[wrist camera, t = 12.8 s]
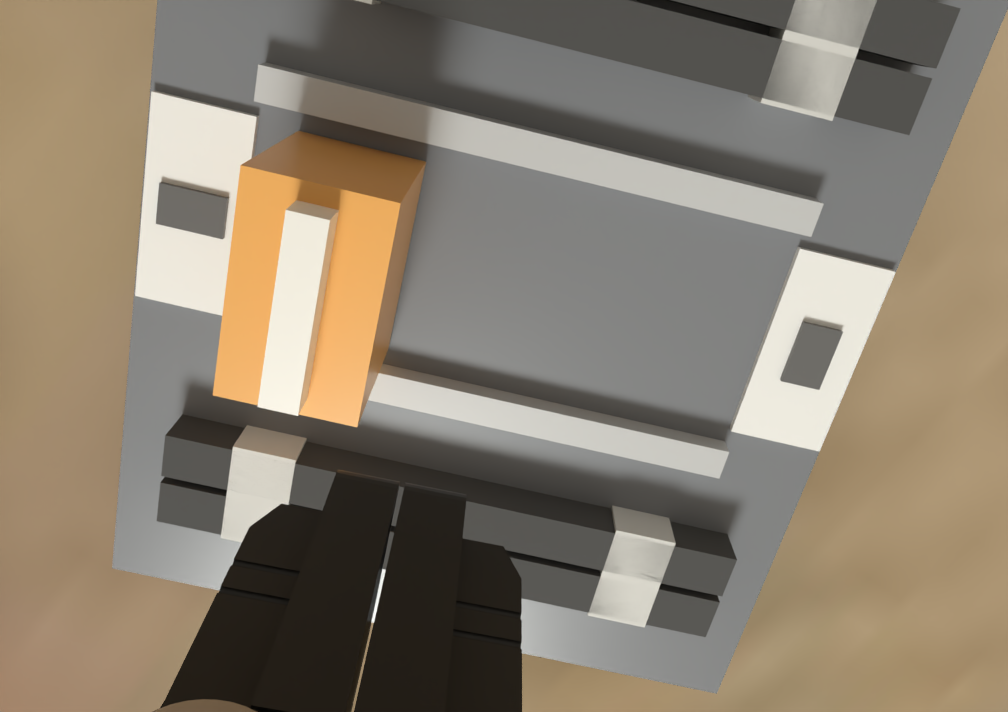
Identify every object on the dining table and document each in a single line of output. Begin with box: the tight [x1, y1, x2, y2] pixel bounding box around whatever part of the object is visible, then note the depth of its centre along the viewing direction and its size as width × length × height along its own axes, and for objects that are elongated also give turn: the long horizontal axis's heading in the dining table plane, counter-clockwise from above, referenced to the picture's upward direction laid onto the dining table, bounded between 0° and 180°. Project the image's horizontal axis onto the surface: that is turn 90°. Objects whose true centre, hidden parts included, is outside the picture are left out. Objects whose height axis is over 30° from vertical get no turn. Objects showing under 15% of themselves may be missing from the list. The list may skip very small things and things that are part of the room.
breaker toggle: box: [213, 131, 426, 427], centre depth 19 cm, size 5×3×5 cm, turn 167°
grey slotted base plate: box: [157, 0, 961, 637], centre depth 22 cm, size 17×15×4 cm
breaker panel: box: [112, 0, 1008, 694], centre depth 23 cm, size 22×18×3 cm
